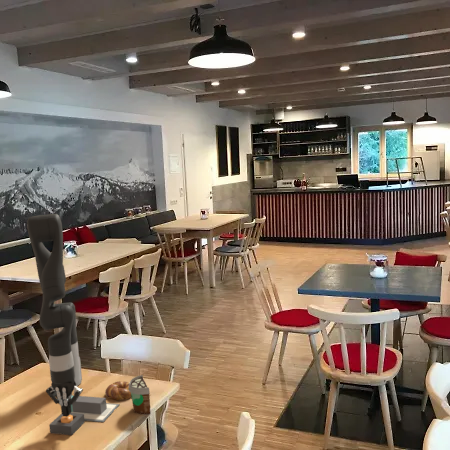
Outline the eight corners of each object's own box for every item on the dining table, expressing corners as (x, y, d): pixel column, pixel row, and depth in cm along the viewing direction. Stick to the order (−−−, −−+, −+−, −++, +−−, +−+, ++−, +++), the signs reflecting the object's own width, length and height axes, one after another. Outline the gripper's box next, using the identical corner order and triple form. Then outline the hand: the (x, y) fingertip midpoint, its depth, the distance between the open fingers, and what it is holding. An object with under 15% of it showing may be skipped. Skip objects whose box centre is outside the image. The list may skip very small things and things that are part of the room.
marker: (106, 408, 172) (105, 397, 172) (101, 414, 169) (100, 403, 168) (73, 405, 176) (72, 395, 175) (66, 411, 172) (65, 400, 172)
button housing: (63, 420, 167) (63, 412, 166) (84, 422, 165) (84, 413, 164) (50, 433, 159) (49, 424, 159) (71, 435, 157) (71, 426, 157)
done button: (65, 421, 164) (64, 414, 164) (75, 422, 163) (74, 415, 163) (59, 427, 160) (58, 420, 160) (69, 428, 160) (68, 421, 159)
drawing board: (77, 401, 180) (77, 400, 180) (119, 405, 176) (119, 403, 176) (59, 418, 168) (58, 417, 168) (103, 422, 164) (103, 420, 164)
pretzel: (141, 395, 183) (141, 386, 182) (114, 405, 177) (114, 395, 176) (127, 384, 193) (126, 375, 192) (101, 393, 186) (100, 384, 186)
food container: (127, 403, 176) (125, 377, 175) (144, 400, 178) (142, 374, 177) (133, 419, 165) (131, 391, 164) (151, 415, 167) (149, 388, 166)
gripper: (85, 361, 161) (90, 411, 164) (50, 359, 165) (55, 408, 167) (73, 371, 154) (78, 422, 156) (37, 369, 157) (42, 419, 160)
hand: (66, 415), depth 162 cm, fingers closed
